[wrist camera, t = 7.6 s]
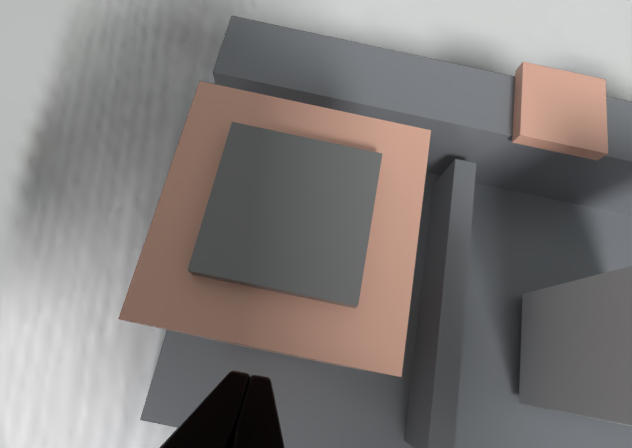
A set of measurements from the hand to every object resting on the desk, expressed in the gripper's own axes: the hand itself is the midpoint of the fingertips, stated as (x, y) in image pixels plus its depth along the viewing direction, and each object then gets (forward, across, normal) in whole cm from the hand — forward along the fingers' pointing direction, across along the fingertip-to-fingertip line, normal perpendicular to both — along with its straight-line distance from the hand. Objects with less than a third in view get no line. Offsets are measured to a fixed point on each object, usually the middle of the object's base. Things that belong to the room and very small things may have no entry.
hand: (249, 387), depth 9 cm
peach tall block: (+6, 0, +3) cm, 7 cm away
